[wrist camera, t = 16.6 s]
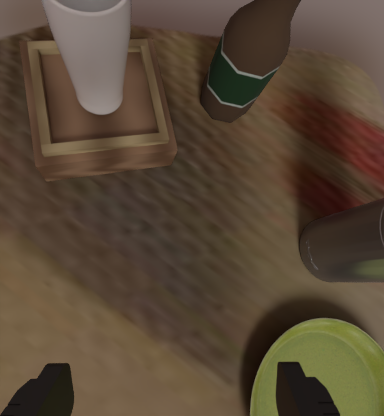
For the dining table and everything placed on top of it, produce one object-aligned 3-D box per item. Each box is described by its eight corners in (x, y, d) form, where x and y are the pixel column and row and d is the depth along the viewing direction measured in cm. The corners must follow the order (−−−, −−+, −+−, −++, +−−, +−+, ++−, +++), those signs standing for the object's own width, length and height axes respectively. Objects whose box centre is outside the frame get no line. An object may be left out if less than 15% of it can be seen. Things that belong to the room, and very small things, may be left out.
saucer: (229, 327, 38) (238, 331, 35) (364, 305, 43) (382, 307, 40) (254, 521, 34) (267, 544, 31) (401, 472, 39) (425, 489, 36)
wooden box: (149, 64, 44) (153, 32, 39) (171, 164, 41) (179, 146, 36) (31, 69, 40) (16, 34, 35) (46, 181, 37) (32, 163, 32)
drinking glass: (61, 81, 35) (18, -53, 21) (114, 66, 37) (109, -66, 23) (84, 130, 35) (57, 25, 20) (138, 112, 37) (147, 4, 22)
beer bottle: (238, 76, 47) (343, -113, 25) (253, 120, 46) (379, -37, 23) (192, 82, 45) (260, -120, 23) (206, 128, 44) (295, -36, 21)
